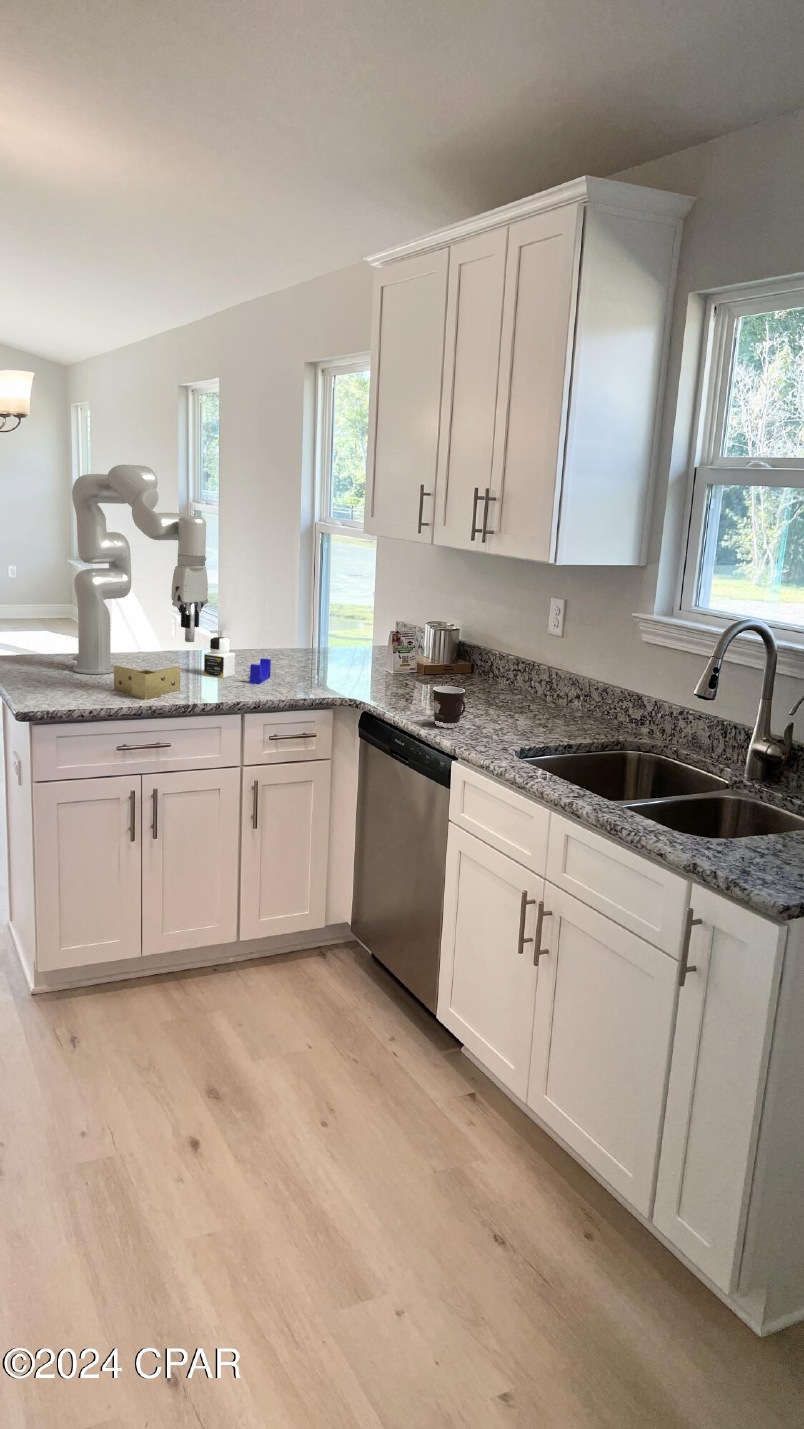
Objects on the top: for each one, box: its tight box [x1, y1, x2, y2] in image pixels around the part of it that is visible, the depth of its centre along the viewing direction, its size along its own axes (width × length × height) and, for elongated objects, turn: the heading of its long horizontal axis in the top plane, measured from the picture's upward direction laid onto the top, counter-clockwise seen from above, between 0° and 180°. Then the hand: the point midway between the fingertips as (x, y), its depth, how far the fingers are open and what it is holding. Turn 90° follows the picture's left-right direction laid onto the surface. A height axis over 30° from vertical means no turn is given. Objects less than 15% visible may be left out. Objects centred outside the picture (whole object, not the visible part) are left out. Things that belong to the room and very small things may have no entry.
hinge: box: [113, 664, 181, 700], centre depth 298 cm, size 16×16×7 cm
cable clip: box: [249, 657, 272, 685], centre depth 323 cm, size 12×4×6 cm, turn 171°
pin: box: [184, 603, 196, 643], centre depth 290 cm, size 3×3×13 cm
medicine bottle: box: [203, 636, 236, 679], centre depth 326 cm, size 7×7×12 cm
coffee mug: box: [432, 685, 466, 723], centre depth 278 cm, size 12×9×10 cm
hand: (189, 626), depth 291 cm, fingers closed on pin, 2 cm apart
